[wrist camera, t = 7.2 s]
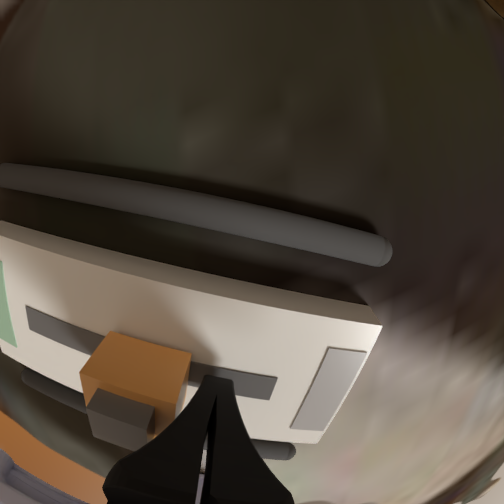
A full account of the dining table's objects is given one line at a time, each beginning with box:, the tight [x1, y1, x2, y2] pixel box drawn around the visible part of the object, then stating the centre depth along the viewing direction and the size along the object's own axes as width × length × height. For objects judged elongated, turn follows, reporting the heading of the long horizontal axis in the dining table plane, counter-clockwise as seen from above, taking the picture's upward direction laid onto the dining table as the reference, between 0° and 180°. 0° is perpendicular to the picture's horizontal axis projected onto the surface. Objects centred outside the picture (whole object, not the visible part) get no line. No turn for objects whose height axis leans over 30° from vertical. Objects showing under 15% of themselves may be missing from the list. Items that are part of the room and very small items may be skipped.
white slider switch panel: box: [0, 220, 382, 444], centre depth 14 cm, size 9×22×2 cm, turn 77°
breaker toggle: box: [79, 331, 192, 451], centre depth 11 cm, size 3×4×4 cm
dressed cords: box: [0, 163, 392, 460], centre depth 14 cm, size 16×21×1 cm
